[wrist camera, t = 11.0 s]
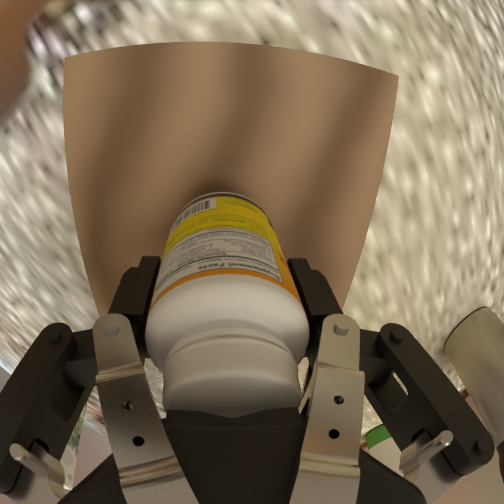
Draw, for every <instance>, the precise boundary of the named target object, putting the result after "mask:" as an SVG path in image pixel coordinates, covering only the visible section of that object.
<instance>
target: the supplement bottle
mask: <svg viewBox="0 0 504 504" xmlns="http://www.w3.org/2000/svg"><path fill="white" fill-rule="evenodd" d="M309 336H310V334H309V325H308V321H307V318H306V314H305V311H304V308H303V305H302V303H301V300H300V297H299V295H298V291H297V289H296V287H295V284H294V281H293V278H292V276H291V273H290V271H289V268H288V265H287V263H286V260H285V257H284V254H283V252H282V250H281V247H280V244H279V242H278V239H277V236H276V234H275V231H274V228H273V226H272V224H271V221H270V219H269V217H268V216H267V214H266V213H265V212H264V210H263V209H262V208H261V207H260V206H259V205H258V204H257V203H255V202H254V201H252V200H251V199H249V198H247V197H245V196H242V195H240V194H236V193H231V192H214V193H209V194H205V195H203V196H200V197H198V198H196V199H194V200H192V201H191V202H190V203H188V204H187V205H186V206H185V207H184V208H183V209H182V210H181V211H180V212H179V214H178V215H177V217H176V219H175V220H174V223H173V225H172V227H171V231H170V234H169V237H168V240H167V244H166V247H165V251H164V254H163V258H162V261H161V265H160V269H159V272H158V276H157V280H156V284H155V288H154V292H153V296H152V300H151V304H150V308H149V312H148V317H147V323H146V330H145V342H146V348H147V351H148V354H149V356H150V358H151V360H152V361H153V363H154V364H155V366H156V367H157V368H158V369H159V370H160V371H161V372H162V373H163V379H164V387H163V400H162V401H163V407H164V409H165V412H166V413H167V410H187V411H202V412H206V413H211V414H215V415H220V416H225V417H230V418H237V417H241V416H244V415H248V414H252V413H255V412H259V411H262V410H265V409H275V408H286V407H296V406H298V408H299V406H300V404H301V400H302V395H301V389H300V384H299V379H298V367H297V366H298V365H299V363H300V362H301V360H302V359H303V357H304V355H305V353H306V350H307V347H308V343H309Z"/></svg>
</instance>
